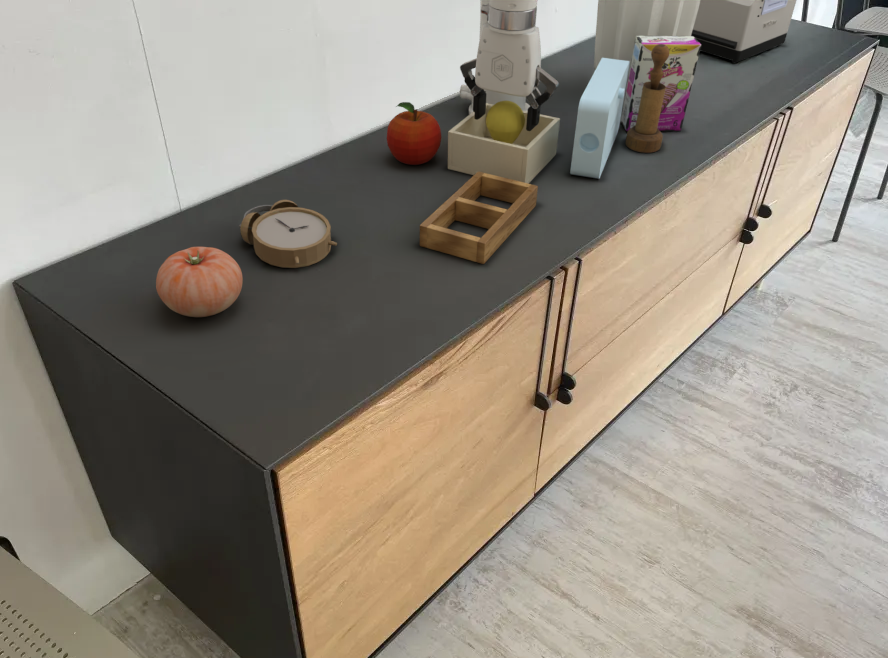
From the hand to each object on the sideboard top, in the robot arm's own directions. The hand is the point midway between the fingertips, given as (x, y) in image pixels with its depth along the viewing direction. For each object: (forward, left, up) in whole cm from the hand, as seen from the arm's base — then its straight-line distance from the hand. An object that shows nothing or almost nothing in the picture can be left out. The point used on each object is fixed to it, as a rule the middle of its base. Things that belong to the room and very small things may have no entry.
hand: (505, 122), depth 134 cm
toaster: (+19, +86, -7) cm, 88 cm away
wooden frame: (+6, -22, -7) cm, 24 cm away
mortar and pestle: (+20, +19, -7) cm, 28 cm away
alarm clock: (-17, -41, -7) cm, 45 cm away
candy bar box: (+19, +28, -7) cm, 35 cm away
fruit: (-14, -7, -7) cm, 17 cm away
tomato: (-17, -59, -7) cm, 62 cm away
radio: (+13, +12, -7) cm, 19 cm away
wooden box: (0, 0, -7) cm, 7 cm away
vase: (+11, +42, -7) cm, 44 cm away
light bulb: (0, 0, -7) cm, 7 cm away
